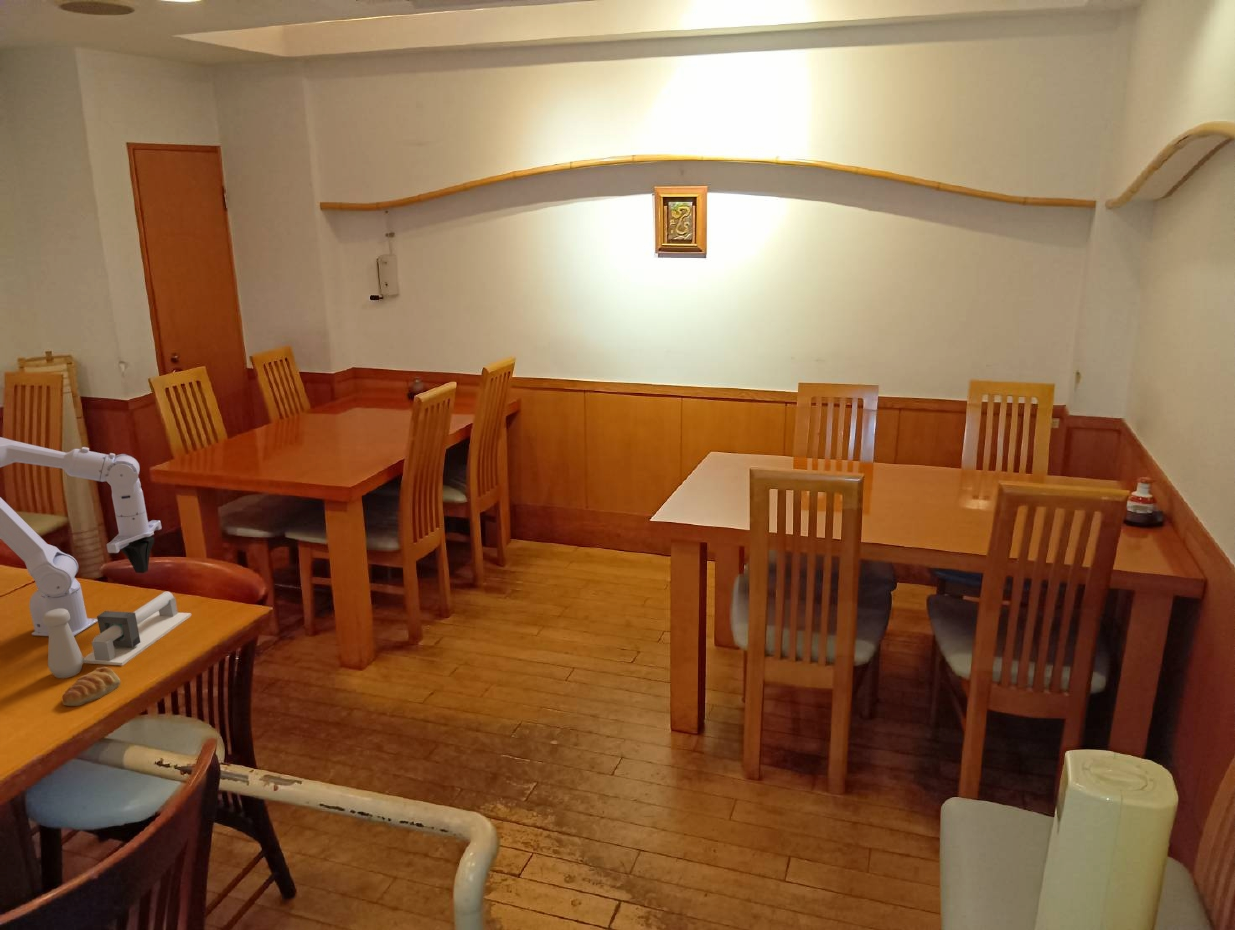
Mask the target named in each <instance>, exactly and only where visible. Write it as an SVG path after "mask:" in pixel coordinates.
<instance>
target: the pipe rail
mask: <svg viewBox="0 0 1235 930" xmlns="http://www.w3.org/2000/svg"><path fill="white" fill-rule="evenodd" d="M132 613H135V615H136V621H137V626H138V631H139V637H140V643H139V644H137V645H136V646H135V647H133V648H126V647H114V646H113V641H114V640H116V639H117V638H118V637H121V636H123V635H124V633H123V628H122V624H113V625H112V626H111V627H110V628H108V629H107V630H105V631H104V632H102V633H101V634H100V633H98V635H96V636H94V638H93V641H91V645H92V651H91V652H90V653H89V654H87V655H86V656H83V659H84V661H83V664H94V665H95V664H96V665H97V664H98V665H109V666H110V665H111V666H124V665H126V664H127V663H128V662H130V661H131V660H133V659H134V658H135V657H137V656H138V655H139V654H141V653H142V652H144V651H145V650H146V649H147V648H149V647H150V646H152V645H153V644H155V643H156V642H157V641H158V640H160V639H161V638H162V637H164V636H166V635H167V634H168V633H169V632H171V631H173V630H174V629H175V628H177V627H178V626H180V625H181V624H182V623H184V622H185V621H186V620H187V619H190V618H191V616H192V613H191V612H178V607H177V600H176V597H175V596H174V595H173V593H172V592H170V591H164V592H162V593H161V594H159V595H158V596H156V597H155V598H152V599H151V600H150V601H148V602H146V603H145V604H144V605H142V606H140V607H139V608H137V609H136V610H134V611H133V612H132Z"/></svg>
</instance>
